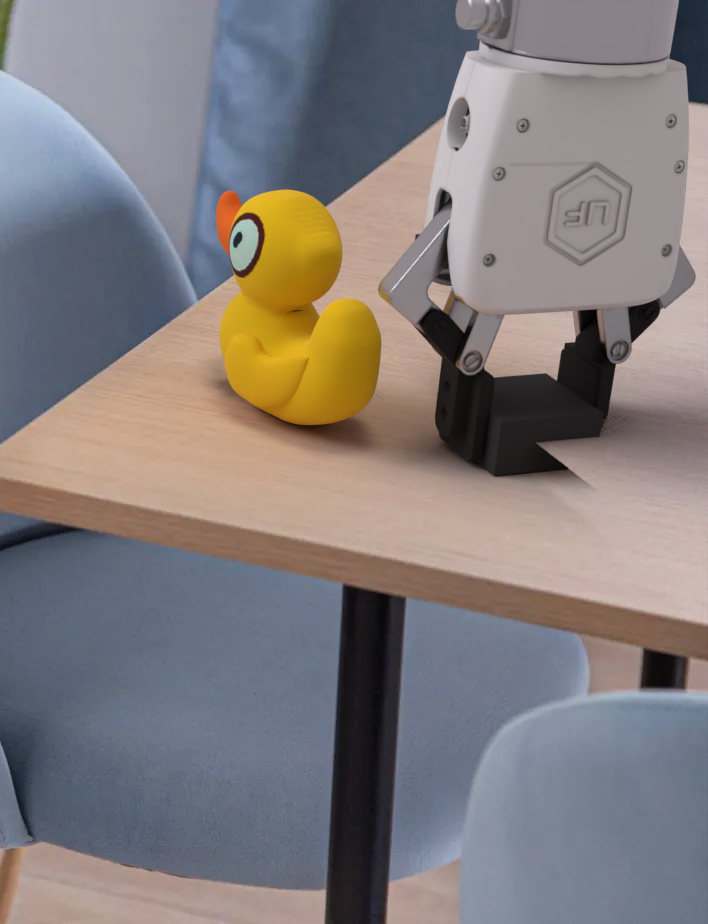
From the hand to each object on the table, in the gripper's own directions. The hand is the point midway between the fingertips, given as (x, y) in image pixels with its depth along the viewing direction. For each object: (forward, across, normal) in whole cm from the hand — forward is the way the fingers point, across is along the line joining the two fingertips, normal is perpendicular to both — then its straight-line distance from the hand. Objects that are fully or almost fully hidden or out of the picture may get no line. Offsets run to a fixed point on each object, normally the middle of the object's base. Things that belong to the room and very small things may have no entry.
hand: (518, 439), depth 78 cm
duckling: (+1, -9, +6) cm, 11 cm away
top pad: (0, 0, 0) cm, 0 cm away
